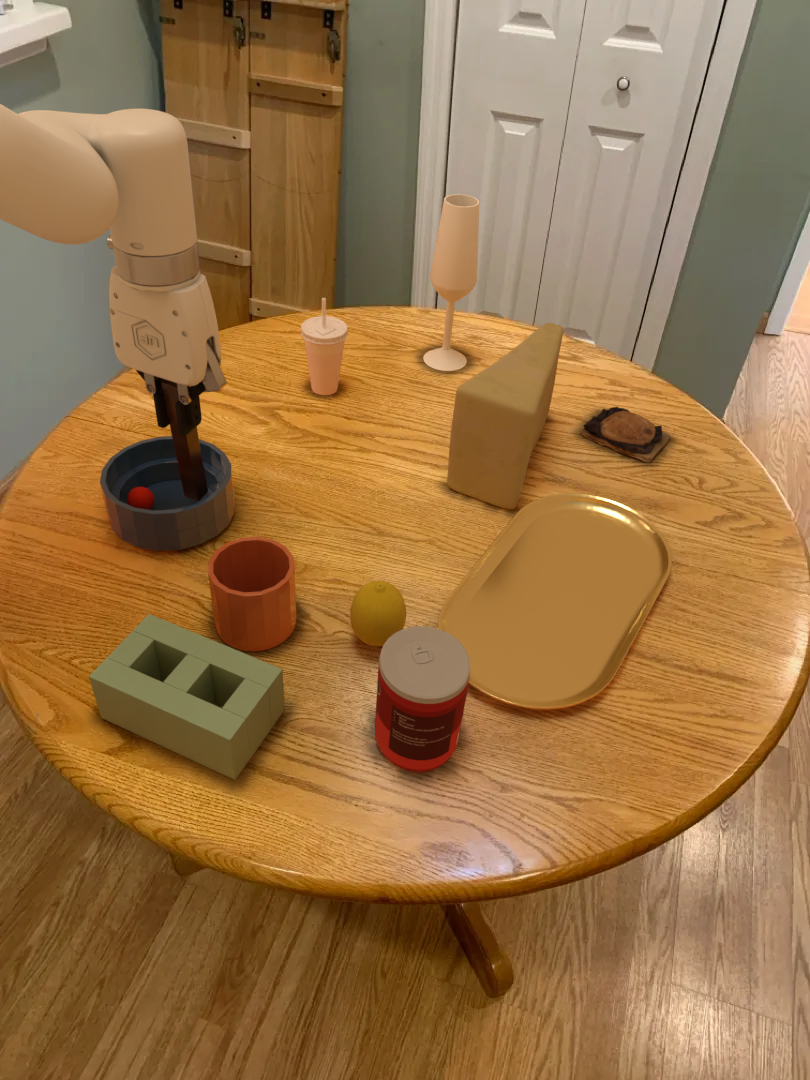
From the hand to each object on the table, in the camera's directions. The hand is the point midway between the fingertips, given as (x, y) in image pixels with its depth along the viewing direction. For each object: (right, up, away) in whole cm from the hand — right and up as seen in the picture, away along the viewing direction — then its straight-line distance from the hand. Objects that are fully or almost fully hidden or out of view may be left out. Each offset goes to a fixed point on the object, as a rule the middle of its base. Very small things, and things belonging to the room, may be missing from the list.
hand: (180, 423), depth 90 cm
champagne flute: (+30, +15, +39) cm, 51 cm away
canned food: (+25, -31, -13) cm, 42 cm away
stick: (0, -7, +8) cm, 11 cm away
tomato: (-6, -8, +6) cm, 12 cm away
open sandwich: (+54, +2, +26) cm, 60 cm away
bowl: (-3, -9, +8) cm, 13 cm away
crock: (+9, -21, -3) cm, 23 cm away
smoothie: (+13, +9, +30) cm, 34 cm away
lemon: (+21, -23, -4) cm, 31 cm away
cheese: (+38, -1, +21) cm, 44 cm away
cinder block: (+5, -28, -12) cm, 31 cm away
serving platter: (+41, -19, +2) cm, 45 cm away
